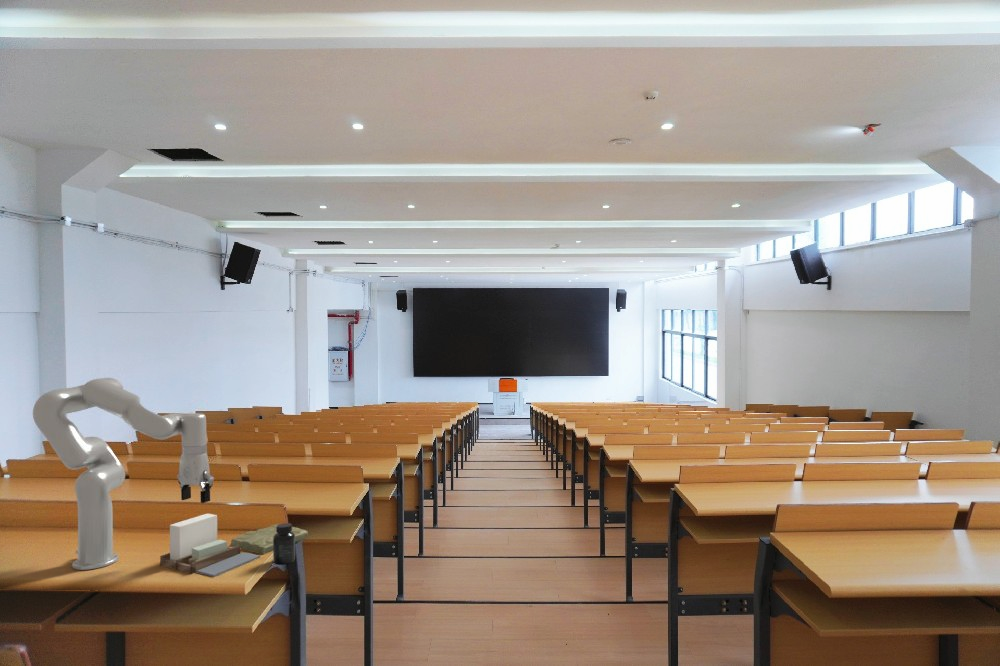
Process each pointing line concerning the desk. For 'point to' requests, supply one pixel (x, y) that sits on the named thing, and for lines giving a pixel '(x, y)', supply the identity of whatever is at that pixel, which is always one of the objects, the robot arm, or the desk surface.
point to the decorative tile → (263, 539)
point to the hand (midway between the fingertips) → (195, 500)
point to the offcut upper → (209, 549)
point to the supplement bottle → (284, 544)
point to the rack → (184, 562)
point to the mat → (228, 564)
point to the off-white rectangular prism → (192, 535)
